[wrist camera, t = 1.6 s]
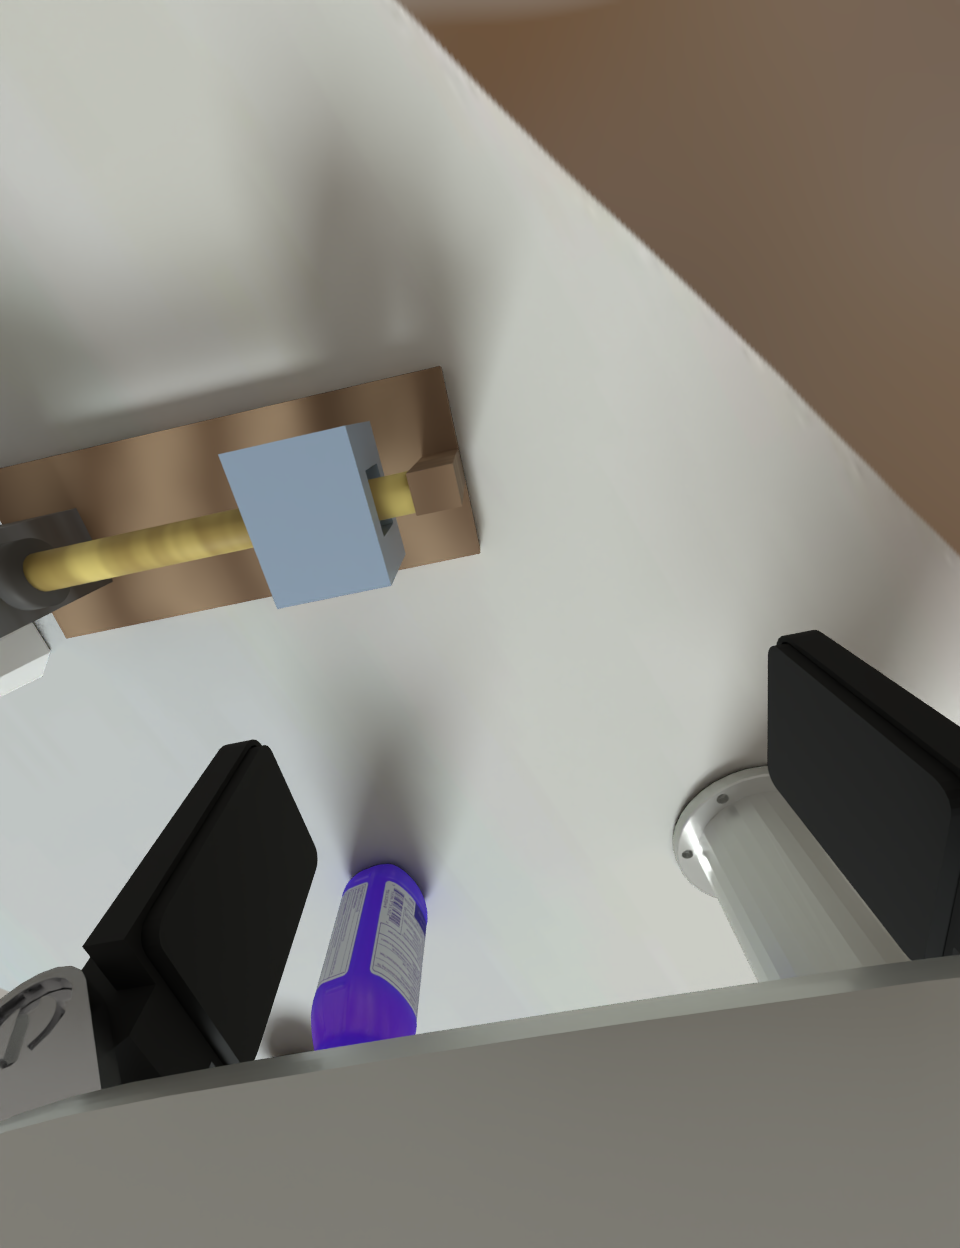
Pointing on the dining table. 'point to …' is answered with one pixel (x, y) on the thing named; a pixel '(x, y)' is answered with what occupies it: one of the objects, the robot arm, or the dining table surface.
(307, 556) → the sleeve
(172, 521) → the rod stand
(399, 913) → the bottle
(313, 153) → the dining table surface
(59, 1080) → the robot arm
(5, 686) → the pepper shaker
